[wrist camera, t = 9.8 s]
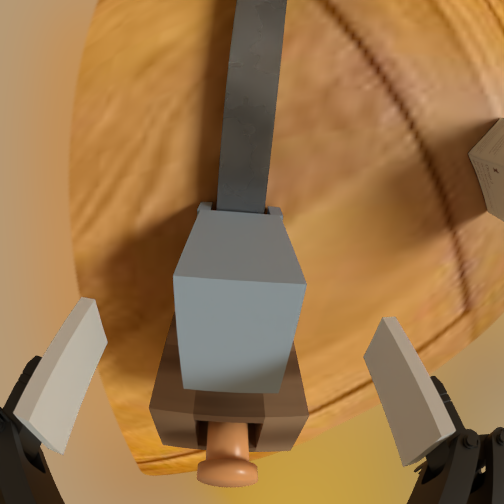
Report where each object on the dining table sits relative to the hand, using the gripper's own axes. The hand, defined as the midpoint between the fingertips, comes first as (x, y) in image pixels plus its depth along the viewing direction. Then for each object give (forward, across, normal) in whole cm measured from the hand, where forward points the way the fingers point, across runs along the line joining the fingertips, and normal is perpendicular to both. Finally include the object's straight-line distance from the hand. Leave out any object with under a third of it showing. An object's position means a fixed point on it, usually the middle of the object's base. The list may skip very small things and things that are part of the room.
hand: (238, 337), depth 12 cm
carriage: (+10, 0, -1) cm, 10 cm away
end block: (+10, 0, -10) cm, 14 cm away
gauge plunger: (+3, 0, -10) cm, 10 cm away
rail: (+10, 0, +7) cm, 12 cm away
